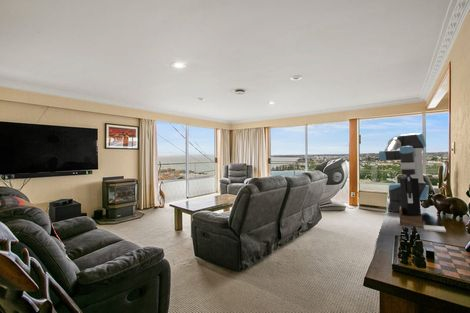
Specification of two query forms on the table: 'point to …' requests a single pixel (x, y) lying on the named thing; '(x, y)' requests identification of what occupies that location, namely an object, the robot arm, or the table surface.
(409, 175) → the robot arm
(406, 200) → the black tall block
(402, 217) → the book bay
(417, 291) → the table surface
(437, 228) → the felt mat
